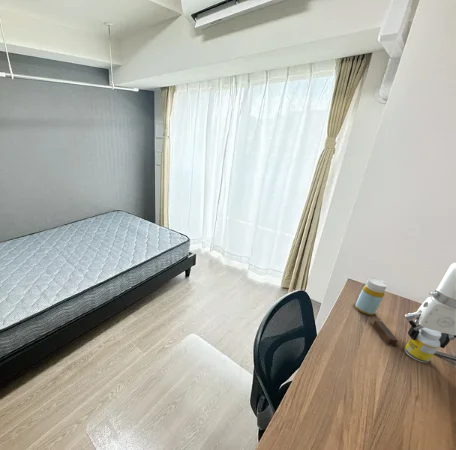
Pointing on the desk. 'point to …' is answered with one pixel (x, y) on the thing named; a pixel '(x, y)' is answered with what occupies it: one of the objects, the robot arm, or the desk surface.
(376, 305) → the bottle
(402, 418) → the desk surface
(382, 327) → the walnut bar
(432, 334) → the pill bottle
